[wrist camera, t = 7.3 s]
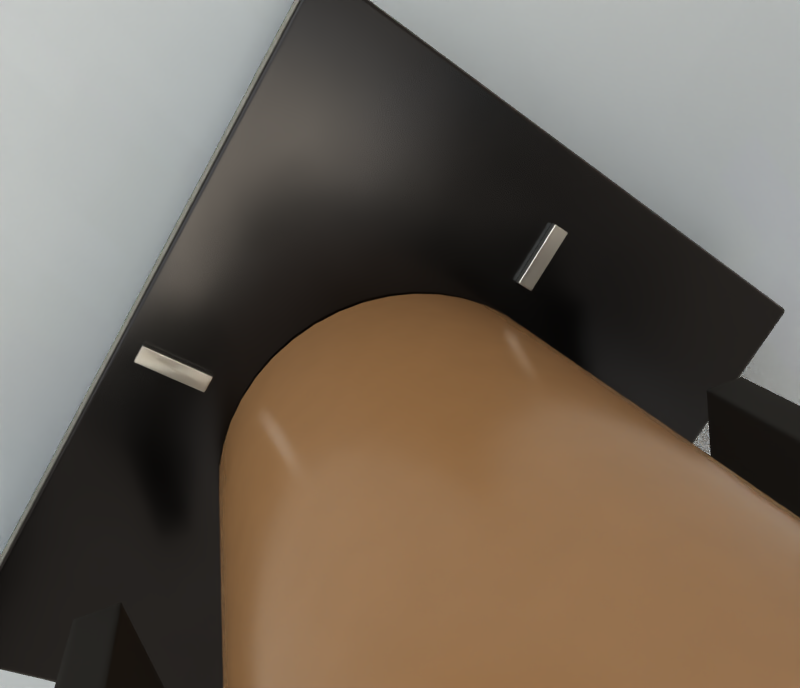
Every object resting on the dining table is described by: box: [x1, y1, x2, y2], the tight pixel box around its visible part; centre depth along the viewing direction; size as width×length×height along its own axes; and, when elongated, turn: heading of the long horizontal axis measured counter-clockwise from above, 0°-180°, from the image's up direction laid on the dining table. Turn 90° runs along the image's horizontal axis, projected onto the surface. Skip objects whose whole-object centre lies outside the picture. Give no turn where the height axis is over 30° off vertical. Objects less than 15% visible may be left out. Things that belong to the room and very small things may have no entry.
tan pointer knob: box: [219, 294, 800, 688], centre depth 10 cm, size 8×8×11 cm
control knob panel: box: [0, 0, 785, 688], centre depth 16 cm, size 15×13×3 cm
